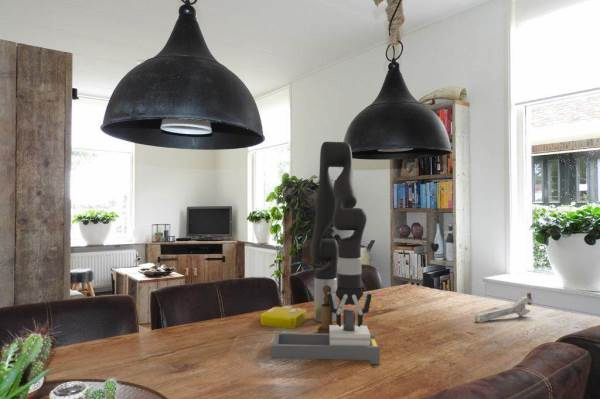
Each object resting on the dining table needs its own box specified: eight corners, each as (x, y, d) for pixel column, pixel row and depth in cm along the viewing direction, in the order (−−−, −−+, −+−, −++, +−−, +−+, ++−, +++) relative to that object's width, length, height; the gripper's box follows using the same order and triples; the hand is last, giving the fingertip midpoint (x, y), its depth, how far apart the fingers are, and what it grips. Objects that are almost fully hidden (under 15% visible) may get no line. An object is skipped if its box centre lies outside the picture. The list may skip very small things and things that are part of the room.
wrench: (475, 328, 169) (530, 313, 179) (478, 329, 167) (533, 314, 177) (473, 309, 169) (528, 295, 179) (476, 310, 167) (532, 296, 177)
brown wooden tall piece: (320, 339, 145) (321, 288, 146) (315, 333, 152) (315, 284, 152) (338, 337, 147) (338, 287, 147) (332, 332, 153) (332, 283, 154)
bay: (276, 348, 136) (276, 332, 136) (373, 349, 135) (373, 334, 135) (271, 362, 124) (272, 345, 124) (379, 364, 123) (379, 347, 123)
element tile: (274, 316, 177) (274, 305, 177) (307, 319, 172) (307, 308, 172) (258, 325, 163) (258, 313, 163) (294, 329, 158) (294, 317, 158)
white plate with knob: (329, 346, 134) (329, 306, 134) (366, 347, 134) (367, 306, 134) (329, 357, 125) (330, 313, 125) (370, 357, 124) (370, 314, 125)
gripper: (370, 270, 133) (370, 323, 133) (326, 269, 134) (325, 322, 133) (374, 274, 125) (374, 330, 125) (326, 273, 126) (326, 329, 126)
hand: (349, 325), depth 129 cm, fingers open, 5 cm apart
